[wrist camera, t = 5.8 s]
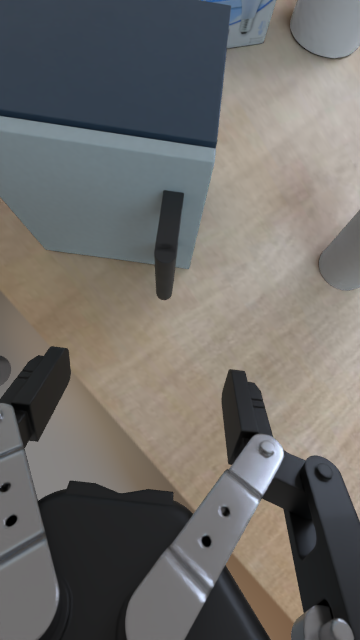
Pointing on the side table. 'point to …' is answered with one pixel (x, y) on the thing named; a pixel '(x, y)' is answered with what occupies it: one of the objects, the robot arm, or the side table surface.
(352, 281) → the dixie cup
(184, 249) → the door
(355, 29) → the toilet tissue
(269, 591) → the side table surface
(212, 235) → the side table surface
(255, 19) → the light bulb box
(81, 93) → the cabinet
